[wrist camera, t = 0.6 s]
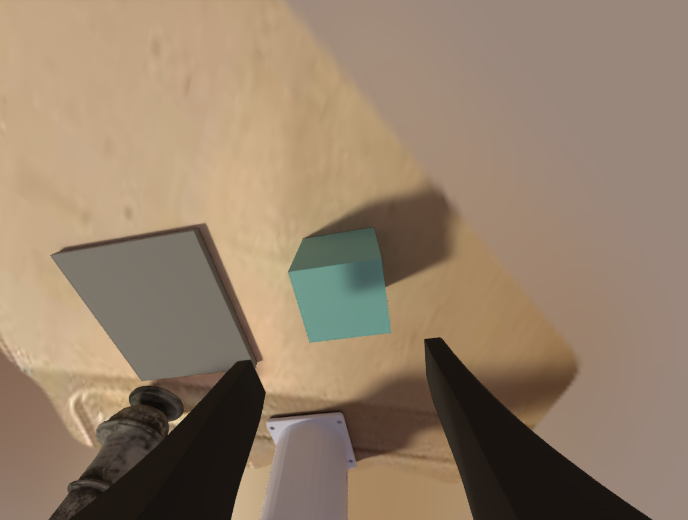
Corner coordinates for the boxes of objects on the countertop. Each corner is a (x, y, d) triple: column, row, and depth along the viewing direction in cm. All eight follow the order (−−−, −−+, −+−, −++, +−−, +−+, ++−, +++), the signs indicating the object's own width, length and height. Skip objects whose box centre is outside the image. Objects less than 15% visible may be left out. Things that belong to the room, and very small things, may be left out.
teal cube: (382, 288, 20) (391, 332, 16) (318, 296, 21) (309, 342, 16) (373, 226, 18) (381, 258, 14) (303, 238, 19) (288, 271, 14)
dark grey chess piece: (154, 376, 25) (5, 562, 14) (198, 411, 27) (98, 596, 16) (114, 396, 26) (-51, 580, 16) (158, 428, 28) (42, 609, 18)
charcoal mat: (257, 362, 24) (254, 368, 23) (146, 375, 25) (141, 381, 24) (198, 227, 18) (193, 230, 18) (58, 251, 19) (50, 255, 19)
